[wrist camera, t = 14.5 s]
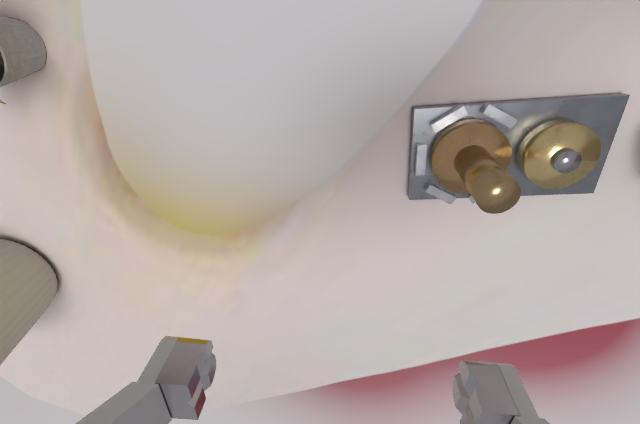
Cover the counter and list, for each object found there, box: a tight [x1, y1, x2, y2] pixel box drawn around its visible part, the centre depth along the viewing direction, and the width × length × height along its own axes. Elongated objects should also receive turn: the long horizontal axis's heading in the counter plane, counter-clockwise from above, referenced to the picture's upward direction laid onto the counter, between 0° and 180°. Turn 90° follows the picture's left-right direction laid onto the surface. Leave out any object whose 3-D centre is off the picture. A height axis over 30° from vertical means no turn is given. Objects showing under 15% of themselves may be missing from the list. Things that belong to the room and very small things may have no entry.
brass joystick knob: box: [429, 119, 521, 213], centre depth 33 cm, size 8×8×10 cm
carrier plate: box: [408, 93, 630, 204], centre depth 36 cm, size 12×21×5 cm, turn 95°
